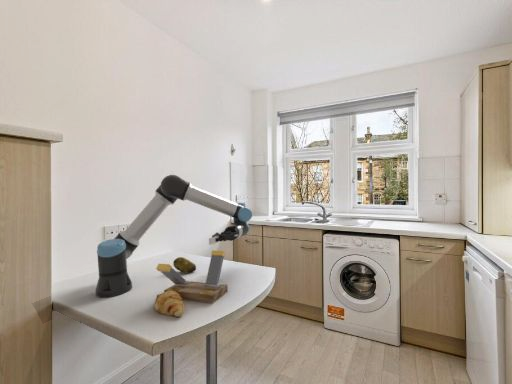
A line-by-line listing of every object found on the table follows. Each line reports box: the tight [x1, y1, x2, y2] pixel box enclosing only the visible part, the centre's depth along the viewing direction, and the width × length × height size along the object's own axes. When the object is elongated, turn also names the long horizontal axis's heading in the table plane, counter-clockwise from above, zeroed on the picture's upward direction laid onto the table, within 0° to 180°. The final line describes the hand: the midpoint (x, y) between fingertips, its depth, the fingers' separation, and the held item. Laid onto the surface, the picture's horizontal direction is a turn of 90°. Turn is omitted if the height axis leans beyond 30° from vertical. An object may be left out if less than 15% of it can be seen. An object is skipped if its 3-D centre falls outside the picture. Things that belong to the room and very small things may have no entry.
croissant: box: [154, 290, 185, 317], centre depth 100 cm, size 21×10×8 cm, turn 42°
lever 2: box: [204, 250, 226, 288], centre depth 113 cm, size 2×6×15 cm, turn 66°
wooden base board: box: [163, 280, 228, 304], centre depth 113 cm, size 12×24×3 cm, turn 68°
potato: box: [172, 256, 197, 274], centre depth 146 cm, size 8×13×8 cm, turn 52°
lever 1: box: [155, 263, 189, 285], centre depth 111 cm, size 2×6×15 cm
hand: (210, 241), depth 121 cm, fingers closed
